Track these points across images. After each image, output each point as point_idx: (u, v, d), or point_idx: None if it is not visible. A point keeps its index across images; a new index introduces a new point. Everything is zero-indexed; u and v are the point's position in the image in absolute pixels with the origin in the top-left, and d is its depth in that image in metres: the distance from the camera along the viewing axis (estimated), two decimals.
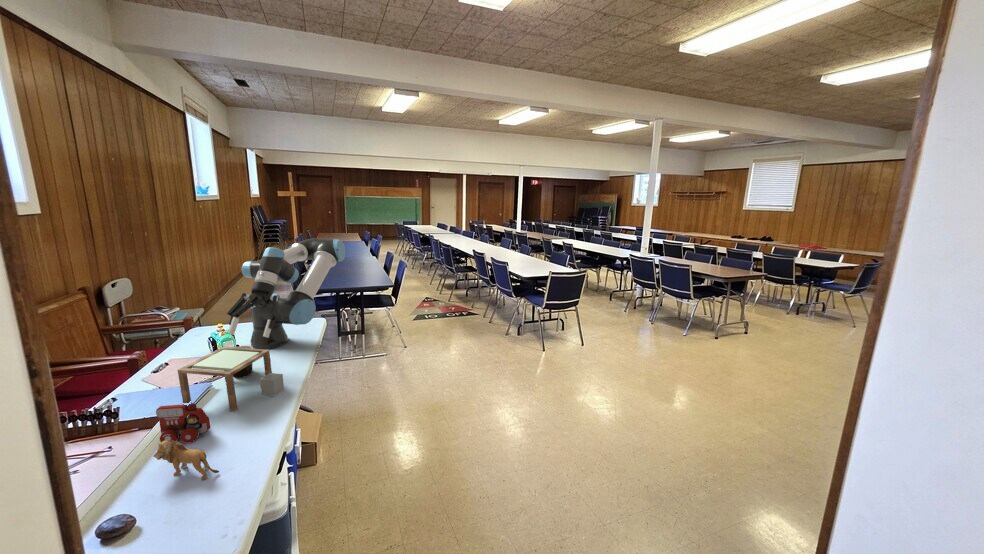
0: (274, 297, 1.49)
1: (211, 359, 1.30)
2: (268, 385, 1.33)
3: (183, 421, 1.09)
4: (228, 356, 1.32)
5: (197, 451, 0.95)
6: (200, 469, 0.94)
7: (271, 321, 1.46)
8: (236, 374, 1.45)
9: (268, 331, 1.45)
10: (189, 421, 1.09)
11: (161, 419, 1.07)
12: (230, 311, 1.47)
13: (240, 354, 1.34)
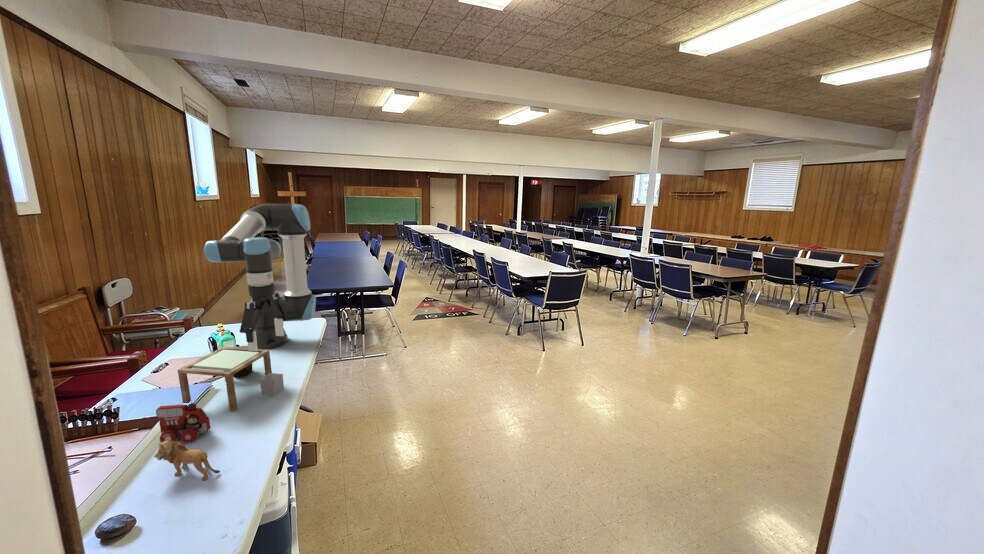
0: (278, 295, 1.35)
1: (211, 359, 1.30)
2: (268, 385, 1.33)
3: (183, 421, 1.09)
4: (228, 356, 1.32)
5: (198, 451, 0.95)
6: (201, 469, 0.94)
7: None
8: (236, 374, 1.45)
9: None
10: (189, 421, 1.09)
11: (161, 419, 1.07)
12: (248, 328, 1.21)
13: (240, 354, 1.34)
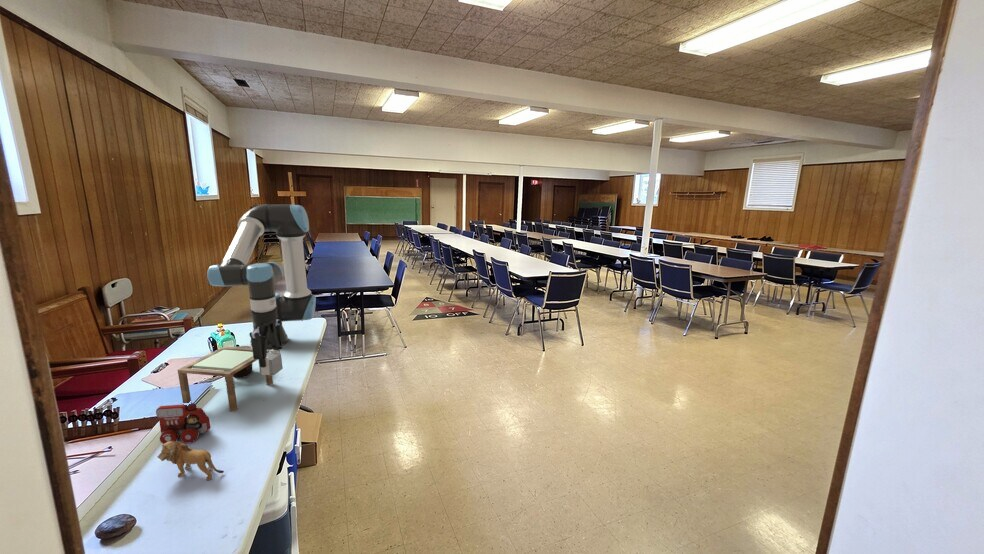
0: (280, 322, 1.37)
1: (211, 359, 1.30)
2: None
3: (183, 421, 1.09)
4: (228, 356, 1.32)
5: (202, 451, 0.95)
6: (205, 469, 0.94)
7: None
8: (236, 374, 1.45)
9: None
10: (189, 421, 1.09)
11: (161, 419, 1.07)
12: (261, 355, 1.27)
13: (240, 354, 1.34)
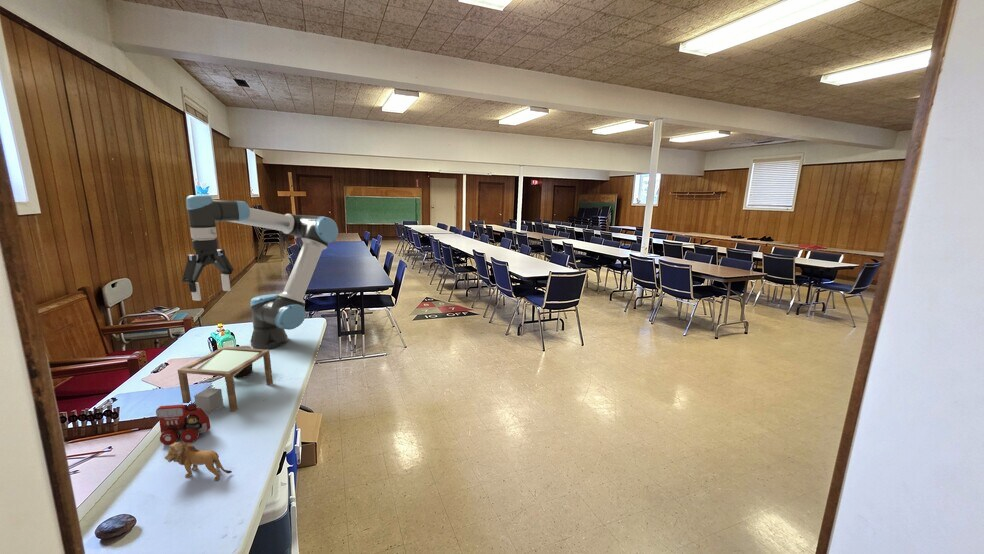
0: (223, 251, 1.44)
1: (211, 363, 1.30)
2: None
3: (183, 421, 1.09)
4: (228, 358, 1.33)
5: (209, 452, 0.95)
6: (213, 470, 0.94)
7: None
8: (236, 374, 1.45)
9: None
10: (189, 421, 1.09)
11: (161, 419, 1.07)
12: (191, 278, 1.31)
13: (240, 355, 1.34)
